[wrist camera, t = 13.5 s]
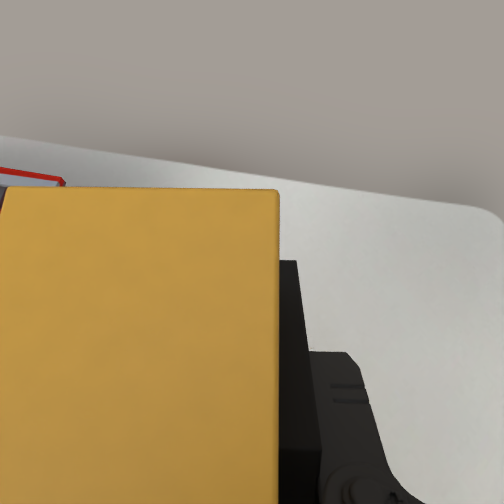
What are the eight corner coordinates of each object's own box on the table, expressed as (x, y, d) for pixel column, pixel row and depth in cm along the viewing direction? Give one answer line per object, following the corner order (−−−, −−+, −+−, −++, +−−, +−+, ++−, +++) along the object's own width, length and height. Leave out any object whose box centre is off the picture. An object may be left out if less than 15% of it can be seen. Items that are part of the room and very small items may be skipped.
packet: (269, 312, 16) (280, 187, 6) (266, 560, 13) (276, 957, 4) (155, 310, 16) (5, 183, 7) (130, 554, 13) (-185, 925, 4)
